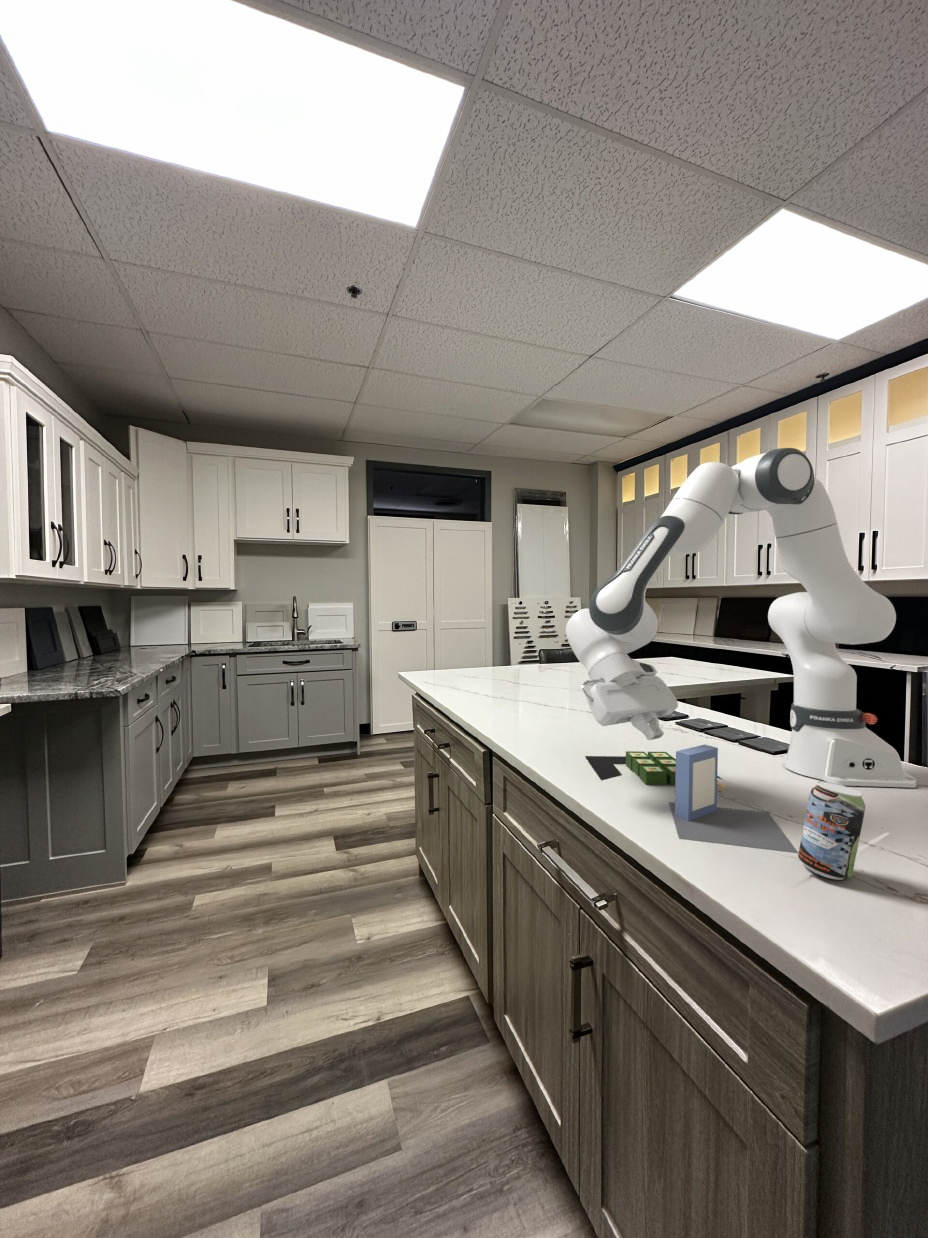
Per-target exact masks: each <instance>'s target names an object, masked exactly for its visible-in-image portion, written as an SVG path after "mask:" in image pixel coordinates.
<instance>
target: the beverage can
mask: <svg viewBox="0 0 928 1238" xmlns="http://www.w3.org/2000/svg"><path fill="white" fill-rule="evenodd" d="M816 783H817V784H815V785H814V786H813V787H812V788H811V789H810V791H809V797H808V802H807V807H806V812H805V817H804V821H803V827H802V833H801V838H800V844H799V848H798V849H799V850H798V853H797V856H798V859H799V860H800V861H801V862H802V863H803V865H804V867H806V868H807V869H808V870H810V871H812V872H813V873H815V874H817V875H820V876H822V877H825V878H827V879H832V880H838V881H842V880H844V879H850V878H852V877H853V873H854V867H855V862H856V859H857V858H856V857H857V853H858V846H859V843H860V836H861V831H862V829H863V828H862V826H863V823H864V817H865V811H866V804H865V802H864V800H863V798H862V797H863V794H862V793H861V792H860V791H858V790H857V789H854V788H850V787H848V786H847V785H839V784H835V783H831V782H827V781H824V780H822V781H821V780H819V781H817V782H816Z"/></svg>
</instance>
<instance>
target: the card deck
mask: <svg viewBox="0 0 928 1238" xmlns="http://www.w3.org/2000/svg"><path fill="white" fill-rule="evenodd" d="M718 751H719V748H718V747H715V746H713V745H708V744H702V745H696V746H693V747H688V748H684V749H680V750H677V751H675V757H676V781H675V785H674V786H675V788H674V789H675V793H674V794H675V795H674V796H675V797H674V803H675V816H677V817H680V818H682V819H684V820H687V821H690V820H693V819H695V818H698V817H701V816H704V815H706V814H709V813H712V812H715V811H717V807H718V789H717V787H718V784H717V782H718V778H717V776H718V762H719V758H718V757H719V756H718V755H719V753H718Z"/></svg>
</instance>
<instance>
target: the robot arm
mask: <svg viewBox="0 0 928 1238" xmlns="http://www.w3.org/2000/svg"><path fill="white" fill-rule="evenodd" d="M763 510H765V511H766V512H767V513H768V514H769V515H770V517H771V519H772V525H773V526H772V527H773V531H774V535H775V536H774V537H775V540H776V544H777V550H778V554H779V556H780V557H779V558H780V561H781V565H782V568H783V570H784V572H785V573H786V574H787V575H788V576H789V577H791V578H793V579H794V580H796V581H797V582H798V583H800V584H801V585H802V586H803V588H804V589H805V590H806V591H803V592H802V591H799V592H794V593H793V592H792V593H790V594H786V595H783V596H780V597H778V598H776V599H775V600H773V601H772V603H771V604H770V606H769V609H768V613H767V619H768V620H767V621H768V625H769V627H770V628H771V630H772V631H773V632H774V633H775V634H777V635H778V637H779V638H780V639H781V641H782V642H783V644H784V646H785V648H786V650H787V652H788V655H789V657H790V661H791V665H792V671H793V672H792V673H793V702H792V703H791V706H790V714H789V715H790V717H789V718H790V719H789V723H790V728H791V736H790V739H789V740H790V741H789V744H788V745H789V746H788V749H787V753H786V757H785V760H784V762H783V766H784V767H785V768H786V769H787V770H790V771H791V772H793V773H796V774H799V775H802V776H806V777H809V778H814V779H818V780H820V781H821V780H822V781H825V782H831V783H835V784H839V785H843V786H846V787H848V786H852V787H853V786H854V787H856V786H857V787H882V788H883V787H887V788H910V789H911V788H913V789H914V788H917V786H918V785H917V780H916V778H915V777H914V776H912V774H910V773H909V772H906V771H904V770H903V767H902V762H901V760H902V759H901V757H900V755H899V753H898V752H897V750H896V749H895V748H894V747H893V746H892V745H890V744H889V743H888V742H886V741H885V740H884V739H882V738H881V737H879V736H878V735H877V734H876V733H874V732H873V731H872V730H870V729H868V728H867V726H866V725H867V724H868V725H875V724H876V723H877V722H878V717H877V716H876V715H875V714H872V713H869V712H863V711H861V710H860V709H858V708H857V689H858V688H857V687H858V686H857V683H858V682H857V681H858V679H857V678H858V676H857V673H856V671H855V669H854V668H853V667H852V666H851V665H850V664H848V663H847V662H845V660H843V659H842V657H841V655H840V654H839V652H838V650H837V647H836V644H842V645H861V644H862V645H863V644H864V645H865V644H870V643H877V642H881V641H883V640H885V639H887V637H888V636H889V635H890V634H891V633H892V631H893V630H894V628H895V625H896V621H897V613H896V610H895V607H894V605H893V603H892V602H891V600H890V599H888V598H887V597H886V596H885V595H882V594H880V593H879V592H877V591H875V590H874V589H873V588H871V586H869V585H868V584H867V583H865V581H864V580H863V579H861V577H860V576H859V574H857V572H856V571H855V569H854V568H853V566H852V565H851V563H850V561H849V559H848V557H847V554H846V551H845V547H844V545H843V540H842V536H841V533H840V528H839V523H838V520H837V517H836V513H835V510H834V507H833V503H832V501H831V498H830V496H829V494H828V493H827V490H826V489H825V486H824V484H823V483H822V482H821V481H820V479H817V478H815V473H814V468H813V464H812V463H811V461H810V459H809V457H807V455H806V454H805V453H804V452H803V451H802V450H800V449H798V448H795V447H794V448H793V447H781V448H774V449H771V450H770V451H768V452H763V453H760V454H756V455H753V456H751V457H750V456H749V457H747V458H745V459H743V460H742V461H740V462H739V463H736V464H734V465H731V466H730V465H727V464H726V463H723V462H720V461H707V462H704V463H702V464H700V465H698V466H697V467H696V468H695V469H694V470H693V471H692V472H691V473H690V474H689V476H688V477H687V478H686V479H685V480H684V482H683V483H682V484H681V486H680V487H679V488H678V490H677V491H676V493H675V494H674V496H673V497H672V499H671V501H670V502H669V504H668V505H667V507H666V509H665V510H664V512H663V513H662V515H661V516H660V517H659V518H658V519H656V520H655V521H654V522H653V523H652V524H651V525H650V526H649V527H648V529H646V530H645V532H644V534H643V535H642V536H641V538H640V539H639V540H638V541H637V542H636V544H635V545H634V547H633V548H632V550H631V551H630V552H629V554H628V555H627V556H626V558H625V559H624V560H623V562H622V563H621V565H620V566H619V567H618V568H617V570H616V571H615V572H614V573H613V575H611V576H610V577H609V578H608V579H606V580H605V581H604V582H603V583H602V584H600V586H598V587H597V588H596V590H595V591H594V592H593V594H592V595H591V597H590V600H589V605H588V608H582V609H579V610H578V611H577V612H575V613H573V615H572V616H570V617H569V619H568V621H567V623H566V624H565V637H566V640H567V641H568V643H569V645H570V648H571V651H572V652H573V654H574V655H575V657H576V658H577V660H578V662H579V663H580V664H582V665H583V666H584V667H585V669H586V671H587V675H588V677H589V678H590V679H587V680H584V682H583V683H582V684H581V690H582V693H583V694H584V696H585V701H586V703H587V705H588V707H589V710H590V713H592V715H593V717H594V719H595V722H596V723H598V724H599V725H601V726H602V727H608V726H612V725H613V726H614V725H619V724H625V723H631V724H632V727H634V728H635V729H637V731H639V732H640V733H642V734H643V735H644V736H645V738H646V740H648V741H653V740H656V739H657V740H659V739H661V738H662V737H663V736H664V731H663V730H662V728H661V726H660V721H659V718H663V717H668V716H670V715H671V714H673V713H674V711H676V710H677V708H678V707H679V703H678V700H677V698H676V696H675V695H674V693H673V692H672V691H671V689H670V688H669V686H668V685H667V684H666V683H665V681H664V680H663V679H662V678H661V677H660V676H657V675H656V674H657V673H658V670H657V669H656V668H655V666H653V665H652V664H648V663H646V662H645V663H644V662H641V661H638V660H636V659H634V658H631V657H630V656H629V655H628V654H631V653H633V652H635V651H637V650H639V649H641V648H643V647H645V646H647V645H649V644H650V643H651V642H652V641H653V640H655V638H656V636H657V634H658V632H659V629H660V628H659V627H660V624H659V623H660V622H659V619H658V618H659V617H658V616H657V614H656V613H655V611H654V610H653V608H652V607H651V605H649V604H648V603H647V601H646V592H647V588H648V586H649V585H650V584H651V582H652V580H653V579H654V578H655V576H656V575H657V574H658V572H659V570H660V569H661V568H662V566H663V565H664V563H665V562H666V561H667V559H669V557H670V556H672V555H673V554H675V553H676V554H680V555H692V554H697V553H699V552H701V551H704V550H705V548H706V547H707V546H708V545H709V544H711V542H712V541H713V540H714V538H715V537H716V535H717V534H718V532H719V531H720V530H721V529H720V528H722V526H723V524H724V522H725V520H726V519H727V516H728V515H742V514H745V513H753V512H755V513H756V512H759V511H763Z"/></svg>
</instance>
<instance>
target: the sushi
mask: <svg viewBox="0 0 928 1238" xmlns="http://www.w3.org/2000/svg"><path fill="white" fill-rule="evenodd" d="M584 757H586V758H585V759H586V760H588V761H587V762H588V763H589V765H590V767H591V768H592V769H593V771H594V772H595V773H596V775H597V776H598V778H599V780H600V781H601V782H602V781H605V780H608V779H613V778H616V777H621V776H623V774H622V773H621V771H620V770H619V769H618V768H617V766H616V765H625V766H626V767H627V768H628V769H629V770H630V771H631V772H632V773H634V774H635V775H636V776H637V777H638V778H639V779H640V780H641V782H643V783H644V785H645V786H667V784H668V785H670V786H675V781H676V759H675V758H673V757H674V756H672V755H671V754H669V753H668V752H667V751H647V753H646V752H645V751H628V750H627V751H625V756H621V755H620V756H619V755H617V756H611V755H610V756H607V755H605V756H604V755H584ZM717 779H719V780H723V781H724V779H723V778H722V777H720V776H719V775H717ZM718 786H719V787H721V788H722V789H724V790H725V789H727V788H726V786H725V785H723V784H722V783H720V782H719V781H717V790H718V789H719V787H718Z"/></svg>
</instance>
